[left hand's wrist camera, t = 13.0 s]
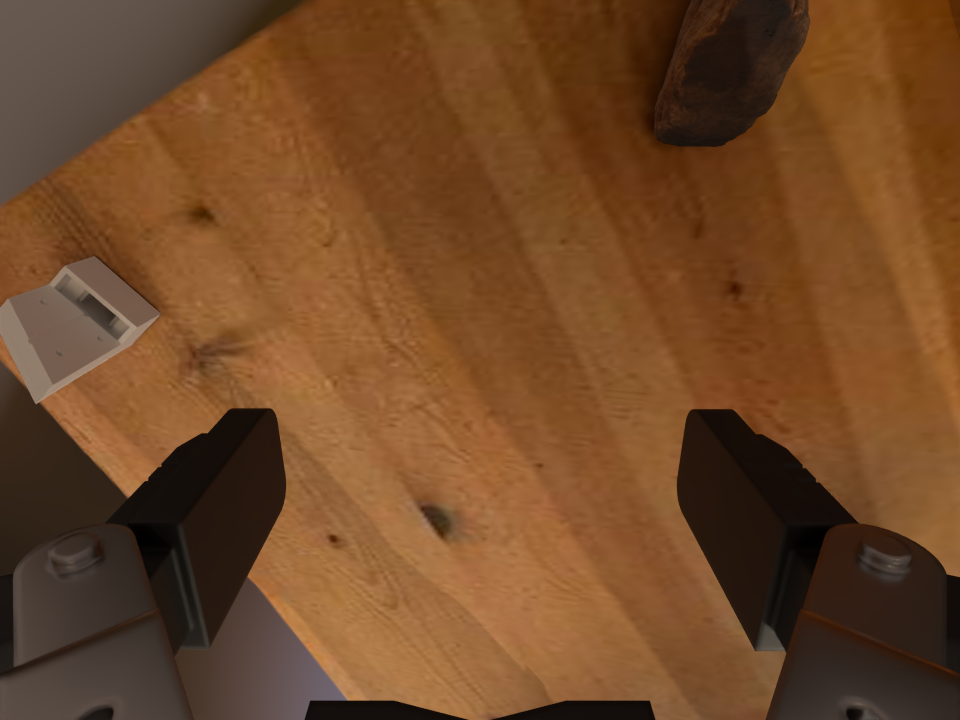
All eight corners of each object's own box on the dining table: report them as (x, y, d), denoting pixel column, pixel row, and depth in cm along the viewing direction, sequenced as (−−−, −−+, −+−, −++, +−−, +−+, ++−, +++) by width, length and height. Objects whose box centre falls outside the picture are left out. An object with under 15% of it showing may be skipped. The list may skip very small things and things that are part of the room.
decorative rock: (689, -79, 34) (777, -168, 24) (787, -57, 34) (915, -135, 24) (632, 138, 38) (687, 141, 28) (720, 155, 38) (805, 164, 28)
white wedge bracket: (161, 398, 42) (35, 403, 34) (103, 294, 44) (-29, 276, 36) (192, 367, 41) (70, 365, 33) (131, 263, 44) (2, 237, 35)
